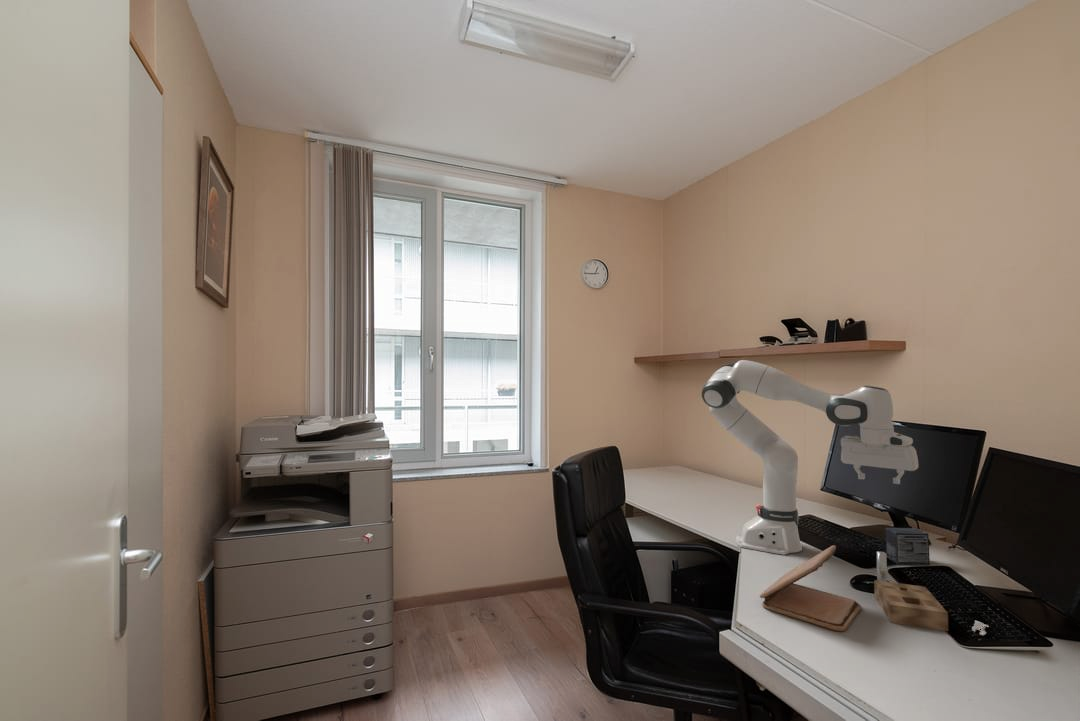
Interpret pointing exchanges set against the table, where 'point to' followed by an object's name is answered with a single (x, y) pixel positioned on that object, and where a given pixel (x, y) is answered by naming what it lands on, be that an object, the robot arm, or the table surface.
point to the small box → (907, 546)
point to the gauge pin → (881, 566)
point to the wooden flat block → (910, 605)
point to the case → (810, 598)
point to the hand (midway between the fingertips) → (878, 481)
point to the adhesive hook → (979, 627)
